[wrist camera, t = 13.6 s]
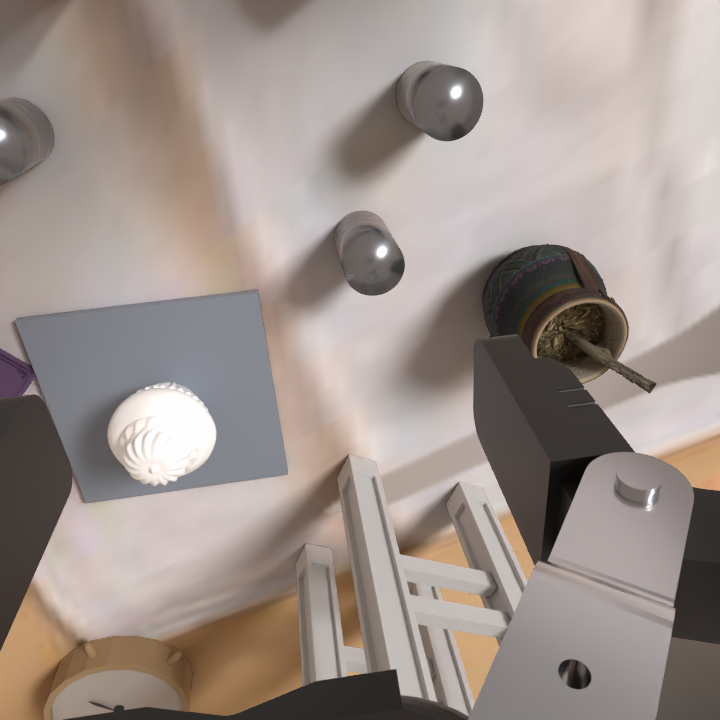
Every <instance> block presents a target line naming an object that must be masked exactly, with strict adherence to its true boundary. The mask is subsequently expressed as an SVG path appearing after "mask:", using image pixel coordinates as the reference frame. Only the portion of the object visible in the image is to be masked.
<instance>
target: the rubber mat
mask: <svg viewBox="0 0 720 720" xmlns="http://www.w3.org/2000/svg"><path fill="white" fill-rule="evenodd" d="M15 324H16V326H17V329H18V331H19V334H20V336H21V339H22V342H23V344H24V347H25V349H26V352H27V354H28V357H29V359H30V362H31V365H32V367H33V370H34V372H35V375H36V377H37V380H38V382H39V385H40V388H41V390H42V393H43V395H44V398H45V400H46V403H47V405H48V408H49V411H50V413H51V416H52V418H53V421H54V423H55V426H56V428H57V431H58V434H59V436H60V439H61V441H62V444H63V446H64V449H65V451H66V454H67V456H68V458H69V461H70V464H71V467H72V469H73V472H74V474H75V477H76V480H77V482H78V485H79V487H80V490H81V492H82V495H83V497H84V500H85V502H86V503H93V502H100V501H107V500H114V499H120V498H127V497H134V496H141V495H148V494H155V493H162V492H169V491H176V490H183V489H190V488H197V487H204V486H211V485H218V484H225V483H232V482H239V481H246V480H253V479H260V478H267V477H274V476H281V475H288V468H287V462H286V456H285V450H284V444H283V438H282V432H281V426H280V420H279V414H278V408H277V402H276V396H275V390H274V384H273V378H272V372H271V366H270V360H269V354H268V348H267V342H266V336H265V330H264V324H263V318H262V312H261V306H260V300H259V294H258V290H251V291H242V292H233V293H225V294H216V295H208V296H199V297H191V298H182V299H174V300H165V301H157V302H148V303H140V304H131V305H123V306H114V307H106V308H97V309H89V310H80V311H72V312H63V313H55V314H46V315H38V316H29V317H21V318H17V319H16V320H15ZM163 382H166V383H167V382H170V383H173V382H175V383H176V384H180V385H181V386H183V385H184V386H185V387H186V388H188V389H190V390H191V391H192V392H193V393H194V394H195V395H196V396H197V397H198V398H199V399H200V400H201V401H202V402H203V403H204V404H203V405H204V406H205V407H206V408H207V409H208V412H209V414H210V415H211V417H212V419H213V421H214V423H215V426H216V442H215V445H214V448H213V450H212V452H211V454H210V456H209V457H208V459H207V460H206V461H205V462H204V463H203V464H202V465H201V466H200V467H199V468H197V469H196V470H194V471H192V472H190V473H188V474H186V475H184V476H181V477H178V478H177V481H168V483H167V484H166V485H162V484H161V483H159V484H157V485H156V486H153V485H151V483H148V484H142V483H141V482H140V480H136V479H134V478H132V477H131V475H130V473H129V472H128V471H127V470H126V469H125V467H124V465H122V464H121V463H120V462H119V461H118V459H117V458H116V457H115V455H114V454H113V452H112V450H111V448H110V445H109V442H108V436H107V432H108V426H109V423H110V420H111V418H112V416H113V414H114V412H115V410H116V409H117V408H118V406H119V405H120V404H121V403H122V402H123V401H124V400H126V399H127V398H128V397H130V395H132V394H135V393H137V391H138V390H141V389H144V388H146V387H148V386H151V385H155V384H158V383H163Z"/></svg>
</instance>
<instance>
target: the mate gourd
mask: <svg viewBox="0 0 720 720" xmlns="http://www.w3.org/2000/svg"><path fill="white" fill-rule="evenodd" d="M483 311H484V318H485V321H486V325H487V328H488V330H489V332H490V335H491V336H490V337H498V336H506V335H514V334H516V335H518V336H519V337H520V338H521V340H522V341H523V342H524V344H525V345H526V347H527V348H528V350H529V351H530V352H531V354H532V355H533V357H534V358H541V357H550V358H552V359H554V360H555V361H557V362H559V363H560V364H562V365H564V366H565V367H567V368H569V369H571V370H572V372H573V373H574V374H575V376H576V377H577V378H578V380H579V381H580V382H581V383H582V384H584V383H587V382H589V381H592V380H594V379H596V378H597V377H599V376H601V375H602V374H604V373H605V372H606V371H607V370H608V369H609V368H610V369H612V370H615V371H616V372H617V373H619V374H621V375H623V377H625V378H626V379H627V380H629V381H631V382H632V383H634V382H635V384H637V385H638V386H639V387H641V388H643V389H644V390H645V391H647V392H648V393H649V394H650V393H651V390H653V388H654V387H655V386H656V383H654V382H653V381H650V380H648V379H646V378H644V377H643V376H642V375H641V374H639V373H637V372H635V371H633V370H632V369H630V368H628V367H626V366H624V365H623V364H622V363H620V362H618V361H617V359H618V358H619V357H620V355H621V353H622V351H623V350H624V347H625V345H626V342H627V339H628V331H629V327H628V322H627V318H626V316H625V314H624V312H623V310H622V309H621V307H619V305H618V304H617V303H615V300H614V299H613V298H612V297H611V299H610V298H609V297H608V296H607V292H606V288H605V285H604V283H603V279H601V277H600V275H599V273H598V272H597V270H596V269H595V267H594V266H593V265H592V264H591V263H590V261H588V260H587V259H586V258H585V257H584V255H582V254H580V253H578V252H576V251H573V250H571V249H570V248H567V247H564V246H560V245H549V244H547V245H540V246H537V245H536V246H534V245H533V246H529V247H525V248H521V249H519V250H516V251H514V252H512V253H511V254H510V255H508V256H507V257H506V258H504V260H502V261H501V262H500V263H499V264H498V265H497V267H495V269H494V270H493V272H492V273H491V275H490V276H489V279H488V280H487V282H486V284H485V288H484V292H483Z"/></svg>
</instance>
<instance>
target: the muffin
mask: <svg viewBox="0 0 720 720" xmlns="http://www.w3.org/2000/svg"><path fill="white" fill-rule="evenodd" d="M203 404H204V403H203V402H202V401H201V400H200V399H199V398H198V397H197V396H196V395H195V394H194V393H193V392H192V391H191V390H190V389H188V388H186V387H185V386H184V385H183V386H181V385H180V384H176V383H175V382H173V383H170V382H167V383H166V382H163V383H158V384H155V385H151V386H148V387H146V388H144V389H141V390H138V391H137V393H135V394H132V395H130V397H128V398H127V399H126V400H124V401H123V402H122V403H121V404H120V405H119V406H118V408H117V409H116V410H115V412H114V414H113V416H112V418H111V420H110V423H109V426H108V432H107V436H108V442H109V445H110V448H111V450H112V452H113V454H114V455H115V457H116V458H117V459H118V461H119V462H120V463H121V464H122V465H124V467H125V469H126V470H127V471H128V472H129V473H130V475H131V477H132V478H134V479H136V480H140V482H141V483H142V484H148V483H151V485H153V486H156V485H157V484H159V483H161V484H162V485H166V484H167V483H168V481H177V478H178V477H181V476H184V475H186V474H188V473H190V472H192V471H194V470H196V469H197V468H199V467H200V466H201V465H202V464H203V463H204V462H205V461H206V460H207V459H208V457H209V456H210V454H211V452H212V450H213V448H214V445H215V442H216V426H215V423H214V421H213V419H212V417H211V415H210V414H209V412H208V409H207V408H206V407H205V406H204V405H203Z"/></svg>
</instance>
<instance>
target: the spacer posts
mask: <svg viewBox="0 0 720 720" xmlns="http://www.w3.org/2000/svg"><path fill="white" fill-rule="evenodd" d="M396 102H397V106H398V109H399V111H400V113H401V114H402V116H403V117H404V118H405V119H406V120H407V121H409V122H410V123H412V124H413V125H415V126H416V127H418V128H419V129H420V130H422V131H423V132H425V133H426V134H428V135H429V136H431V137H433V138H435V139H437V140H441V141H453V140H457V139H459V138H461V137H463V136H465V135H466V134H468V133H469V132H470V131H471V130H472V129H473V128H474V126H475V125H476V124H477V122H478V120H479V118H480V116H481V113H482V108H483V93H482V89H481V86H480V84H479V82H478V81H477V79H476V78H475V77H474V76H473V75H472V74H471V73H470V72H468V71H467V70H465V69H462V68H459V67H454V66H450V65H445V64H441V63H436V62H431V61H423V62H419V63H416V64H414V65H412V66H411V67H409V68H408V69H407V70H406V71H405V72H404V73H403V75H402V76H401V78H400V80H399V82H398V85H397V90H396ZM53 145H54V132H53V128H52V125H51V123H50V121H49V120H48V118H47V116H46V115H45V114H44V113H43V112H42V111H41V110H40V109H39V108H38V107H37V106H35V105H34V104H32V103H30V102H28V101H26V100H23V99H19V98H5V99H1V100H0V185H2V184H4V183H6V182H8V181H10V180H11V179H13V178H15V177H16V176H18V175H20V174H21V173H23V172H24V171H26V170H28V169H29V168H31V167H33V166H34V165H36V164H38V163H39V162H41V161H43V160H44V159H45V158H46V157H47V156H48V155H49V154H50V153H51V151H52V148H53ZM334 240H335V245H336V249H337V252H338V255H339V258H340V261H341V265H342V268H343V271H344V274H345V277H346V280H347V282H348V283H349V285H350V286H351V287H352V288H353V289H354V290H356V291H357V292H359V293H361V294H364V295H372V296H373V295H380V294H384V293H386V292H388V291H390V290H391V289H393V288H394V287H395V286H396V285H397V284H398V282H399V281H400V279H401V278H402V275H403V272H404V267H405V262H404V257H403V254H402V252H401V250H400V248H399V247H398V245H397V243H396V242H395V240H394V238H393V237H392V235H391V233H390V232H389V230H388V228H387V227H386V225H385V223H384V222H383V220H382V219H381V218H380V217H379V216H377V215H376V214H374V213H371V212H368V211H356V212H353V213H351V214H349V215H347V216H346V217H344V218H343V219H342V220H341V221H340V223H339V224H338V226H337V228H336V231H335V237H334Z"/></svg>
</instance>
